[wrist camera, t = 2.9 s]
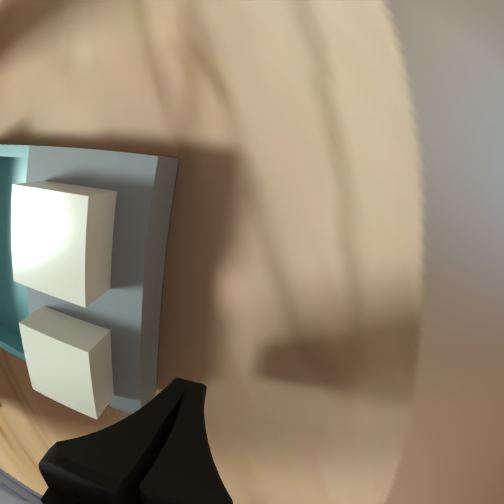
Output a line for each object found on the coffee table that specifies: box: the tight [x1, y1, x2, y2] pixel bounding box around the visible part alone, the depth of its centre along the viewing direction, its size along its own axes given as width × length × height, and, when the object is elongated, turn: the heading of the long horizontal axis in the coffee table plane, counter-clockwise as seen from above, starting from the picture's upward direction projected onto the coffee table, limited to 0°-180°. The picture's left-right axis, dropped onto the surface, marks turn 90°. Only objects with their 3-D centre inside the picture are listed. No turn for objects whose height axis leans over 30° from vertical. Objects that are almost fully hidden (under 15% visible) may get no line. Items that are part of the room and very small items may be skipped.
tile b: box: [11, 181, 117, 308], centre depth 11 cm, size 4×4×2 cm
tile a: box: [19, 306, 114, 420], centre depth 12 cm, size 4×4×2 cm
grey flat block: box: [26, 146, 179, 414], centre depth 14 cm, size 7×12×2 cm, turn 169°
